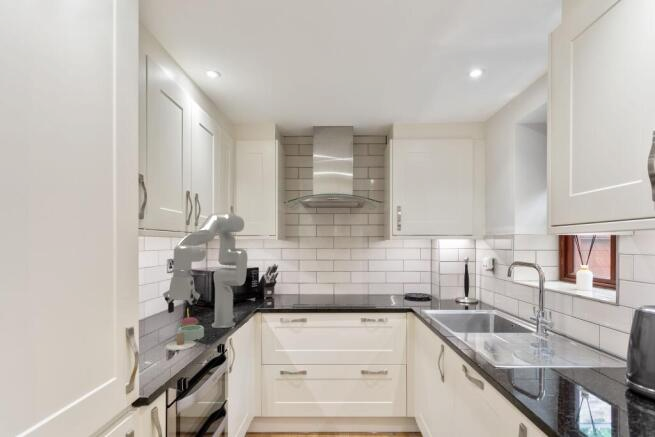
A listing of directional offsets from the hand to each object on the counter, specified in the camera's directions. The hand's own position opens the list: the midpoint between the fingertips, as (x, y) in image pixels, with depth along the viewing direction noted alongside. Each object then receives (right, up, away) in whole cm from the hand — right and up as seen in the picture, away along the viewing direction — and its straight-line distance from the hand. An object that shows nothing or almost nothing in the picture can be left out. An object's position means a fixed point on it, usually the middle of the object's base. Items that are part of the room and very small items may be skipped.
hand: (180, 312), depth 158 cm
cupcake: (-7, -17, +27) cm, 33 cm away
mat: (0, -15, 0) cm, 15 cm away
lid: (0, -15, 0) cm, 15 cm away
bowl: (-1, -16, +14) cm, 21 cm away
